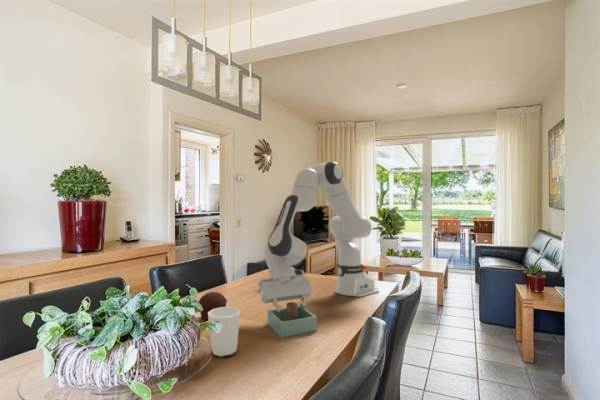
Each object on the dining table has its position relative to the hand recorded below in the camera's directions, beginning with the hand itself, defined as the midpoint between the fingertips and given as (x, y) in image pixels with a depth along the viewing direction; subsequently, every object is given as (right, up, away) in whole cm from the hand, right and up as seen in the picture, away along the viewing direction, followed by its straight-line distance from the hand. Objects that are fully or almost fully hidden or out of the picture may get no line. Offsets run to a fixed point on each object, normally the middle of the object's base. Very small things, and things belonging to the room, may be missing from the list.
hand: (292, 309), depth 122 cm
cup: (-21, -7, -20) cm, 30 cm away
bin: (0, -7, 0) cm, 7 cm away
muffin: (-32, -7, +10) cm, 34 cm away
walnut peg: (0, -6, 0) cm, 6 cm away
